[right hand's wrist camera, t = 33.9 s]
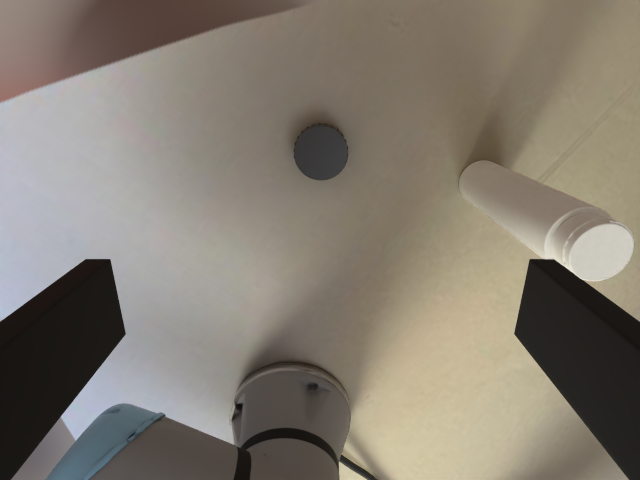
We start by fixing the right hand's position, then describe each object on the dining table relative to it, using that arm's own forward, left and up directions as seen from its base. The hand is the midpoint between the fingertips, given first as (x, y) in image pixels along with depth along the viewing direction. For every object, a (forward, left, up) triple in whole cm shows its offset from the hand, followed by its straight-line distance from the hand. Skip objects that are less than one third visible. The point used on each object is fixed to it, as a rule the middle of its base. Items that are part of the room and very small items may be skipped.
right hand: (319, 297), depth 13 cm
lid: (0, 0, -28) cm, 28 cm away
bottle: (-8, -15, -30) cm, 34 cm away
